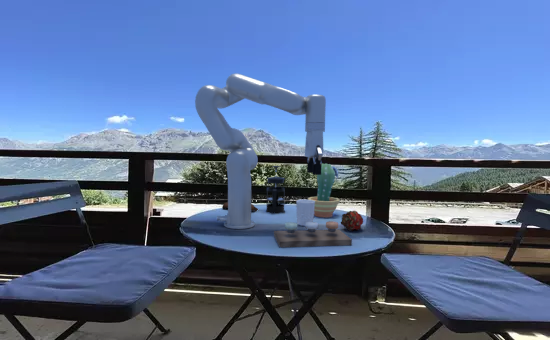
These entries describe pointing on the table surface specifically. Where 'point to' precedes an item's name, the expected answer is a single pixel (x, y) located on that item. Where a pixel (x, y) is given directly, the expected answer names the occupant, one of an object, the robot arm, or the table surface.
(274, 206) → the french press
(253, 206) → the sunglasses case
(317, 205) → the potted cactus
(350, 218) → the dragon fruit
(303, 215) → the white cup
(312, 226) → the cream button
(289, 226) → the sage button
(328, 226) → the terracotta button
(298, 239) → the button panel
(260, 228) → the table surface
